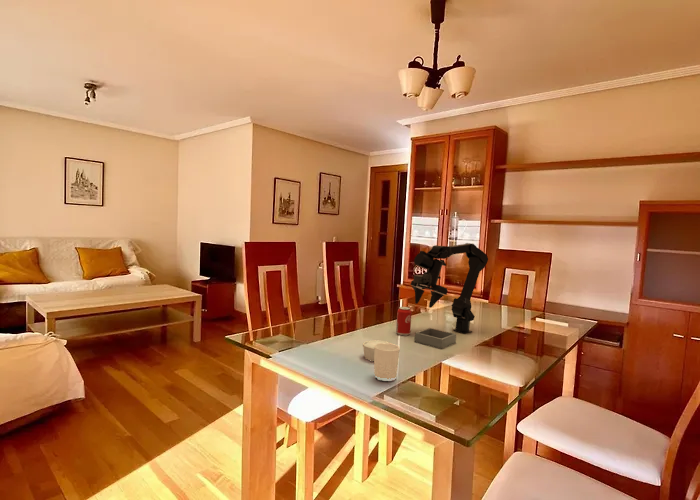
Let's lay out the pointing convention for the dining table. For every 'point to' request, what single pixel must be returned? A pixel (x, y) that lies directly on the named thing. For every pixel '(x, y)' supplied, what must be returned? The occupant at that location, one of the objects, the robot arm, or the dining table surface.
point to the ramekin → (371, 348)
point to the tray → (435, 338)
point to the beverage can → (403, 321)
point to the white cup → (386, 360)
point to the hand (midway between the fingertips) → (422, 305)
